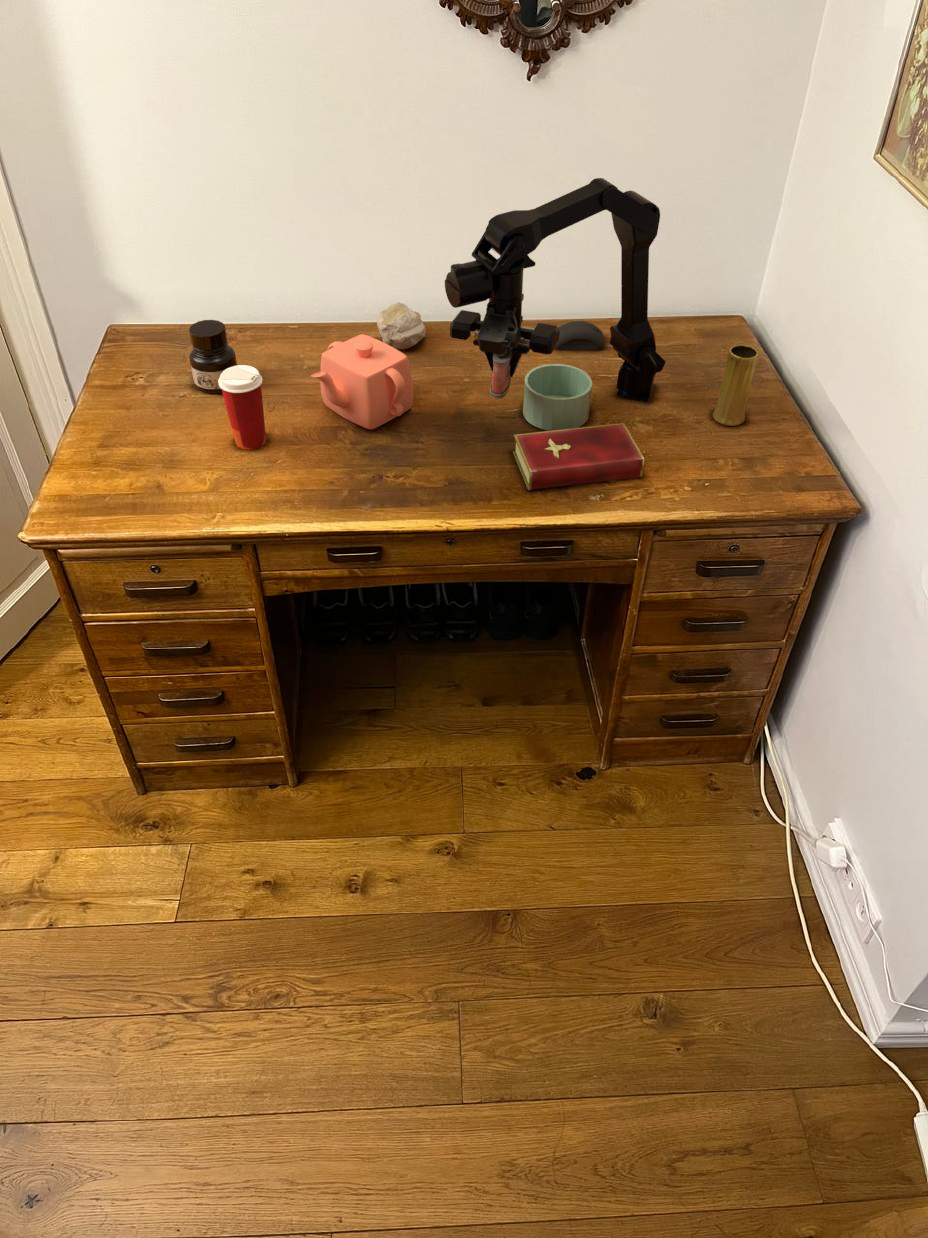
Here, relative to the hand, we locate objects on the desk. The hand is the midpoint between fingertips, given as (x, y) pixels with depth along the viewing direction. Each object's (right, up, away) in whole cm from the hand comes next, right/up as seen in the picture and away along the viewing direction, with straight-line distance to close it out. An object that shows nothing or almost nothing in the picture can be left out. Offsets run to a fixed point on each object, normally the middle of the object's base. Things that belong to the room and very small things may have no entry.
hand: (503, 374), depth 179 cm
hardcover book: (+13, -17, 0) cm, 21 cm away
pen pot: (+11, -4, +12) cm, 17 cm away
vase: (+44, -6, +12) cm, 46 cm away
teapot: (-28, -5, +11) cm, 31 cm away
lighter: (-1, -2, +2) cm, 3 cm away
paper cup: (-47, -11, +5) cm, 49 cm away
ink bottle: (-57, +3, +19) cm, 60 cm away
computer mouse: (+17, +15, +32) cm, 39 cm away
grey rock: (-20, +14, +31) cm, 40 cm away
